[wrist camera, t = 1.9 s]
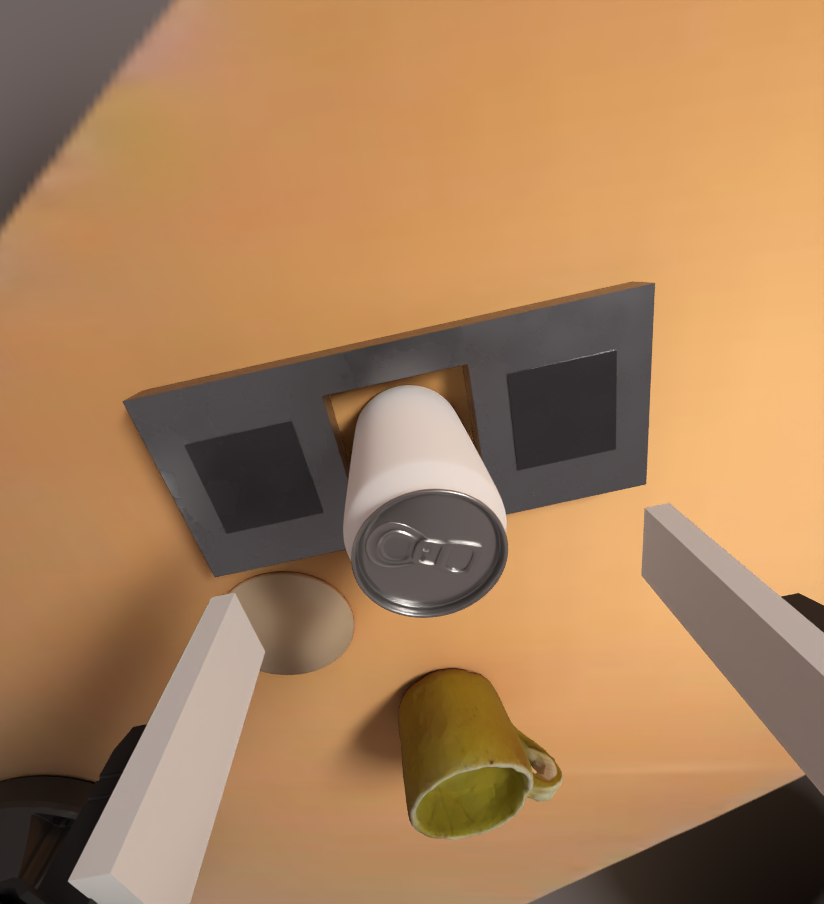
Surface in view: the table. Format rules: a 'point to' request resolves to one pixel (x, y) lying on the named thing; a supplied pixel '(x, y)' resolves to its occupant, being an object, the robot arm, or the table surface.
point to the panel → (395, 357)
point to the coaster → (296, 620)
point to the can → (421, 507)
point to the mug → (466, 757)
